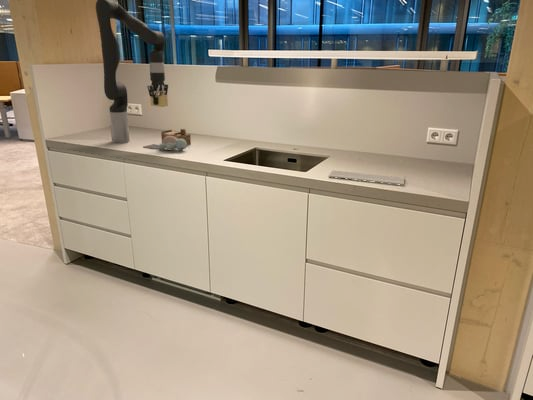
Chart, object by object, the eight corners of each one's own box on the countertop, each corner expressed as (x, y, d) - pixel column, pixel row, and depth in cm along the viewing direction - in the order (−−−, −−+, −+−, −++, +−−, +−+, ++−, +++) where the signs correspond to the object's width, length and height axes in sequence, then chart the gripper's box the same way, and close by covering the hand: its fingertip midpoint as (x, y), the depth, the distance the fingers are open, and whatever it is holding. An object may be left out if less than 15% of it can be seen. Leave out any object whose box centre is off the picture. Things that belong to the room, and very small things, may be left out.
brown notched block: (162, 143, 235) (160, 127, 232) (171, 141, 241) (170, 126, 238) (182, 146, 228) (181, 130, 225) (190, 144, 234) (190, 128, 231)
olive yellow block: (150, 105, 222) (150, 93, 220) (156, 104, 226) (156, 92, 224) (162, 106, 219) (161, 94, 216) (167, 106, 222) (167, 93, 220)
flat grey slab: (333, 172, 186) (328, 179, 175) (334, 165, 185) (328, 172, 174) (404, 179, 176) (403, 187, 165) (405, 173, 175) (404, 180, 164)
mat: (143, 147, 225) (142, 146, 225) (153, 144, 231) (153, 144, 231) (156, 149, 220) (156, 148, 220) (166, 146, 227) (166, 146, 227)
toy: (161, 161, 216) (184, 149, 212) (151, 143, 214) (175, 131, 209) (170, 156, 227) (192, 145, 223) (161, 139, 225) (183, 128, 221)
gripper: (161, 71, 224) (162, 102, 230) (142, 71, 212) (144, 105, 218) (171, 71, 221) (173, 103, 226) (153, 72, 209) (155, 106, 214)
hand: (159, 104), depth 222 cm, fingers closed on olive yellow block, 4 cm apart
